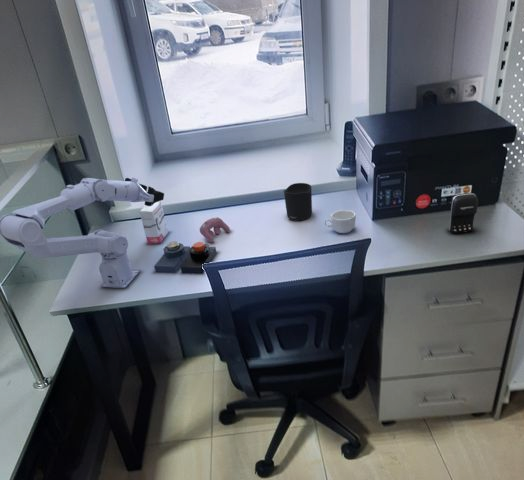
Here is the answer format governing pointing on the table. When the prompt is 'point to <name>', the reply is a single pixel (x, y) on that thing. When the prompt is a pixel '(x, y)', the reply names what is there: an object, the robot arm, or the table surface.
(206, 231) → the pink curved piece
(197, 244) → the right button
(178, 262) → the left box
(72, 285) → the table surface
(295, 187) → the pen holder
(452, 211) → the battery charger
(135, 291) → the table surface
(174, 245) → the left button
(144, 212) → the ink box
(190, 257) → the right box
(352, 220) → the teacup
